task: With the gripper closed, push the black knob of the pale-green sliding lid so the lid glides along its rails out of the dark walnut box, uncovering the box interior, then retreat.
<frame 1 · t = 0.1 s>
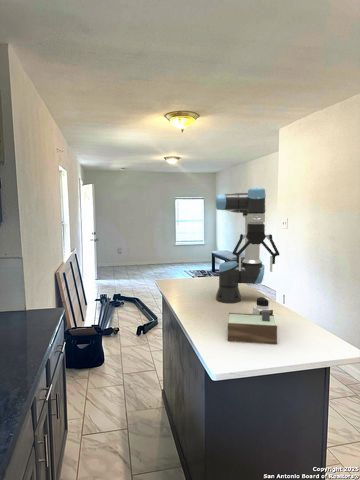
hand: (255, 270, 144), 28 cm above the countertop, fingers open, 13 cm apart
lid: (251, 315, 140), point 9 cm above the countertop, slide at 0.0 cm
medicine bottle: (262, 322, 159), on the countertop
box: (251, 336, 141), on the countertop
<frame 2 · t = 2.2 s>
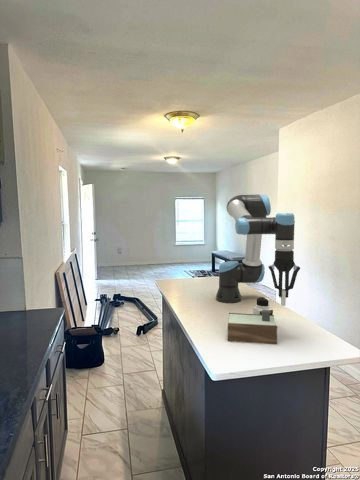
hand: (283, 304, 137), 15 cm above the countertop, fingers closed
nothing on the countertop moved.
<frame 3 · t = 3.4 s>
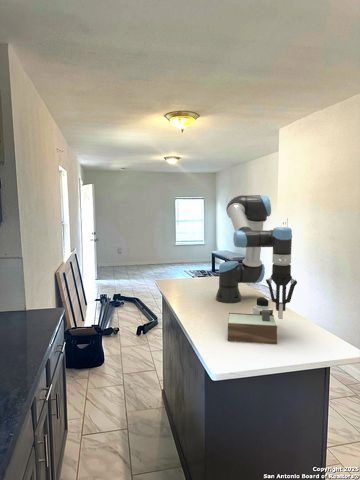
hand: (280, 317, 138), 9 cm above the countertop, fingers closed
nothing on the countertop moved.
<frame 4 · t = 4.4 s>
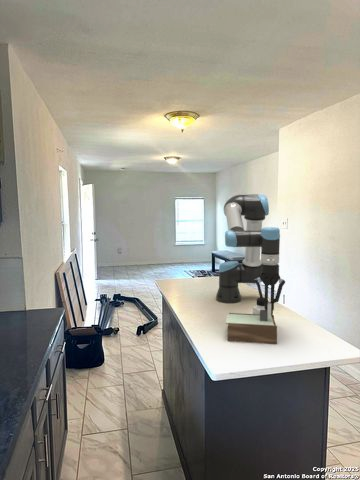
hand: (268, 317, 139), 9 cm above the countertop, fingers closed
lid: (249, 315, 140), point 9 cm above the countertop, slide at 0.9 cm, touching gripper
everything else where it was.
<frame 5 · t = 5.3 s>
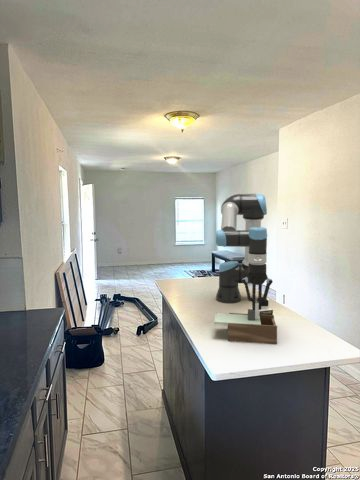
hand: (256, 316, 140), 9 cm above the countertop, fingers closed
lid: (237, 315, 141), point 9 cm above the countertop, slide at 6.1 cm, touching gripper
everything else where it was.
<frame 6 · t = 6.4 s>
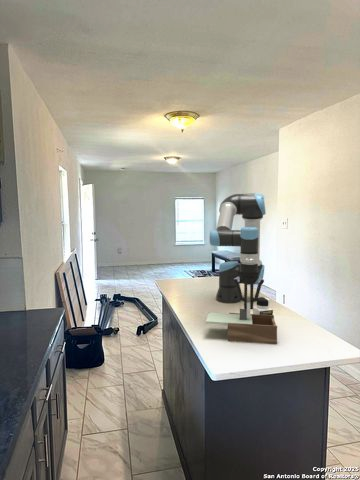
hand: (248, 316, 141), 9 cm above the countertop, fingers closed
lid: (229, 314, 142), point 9 cm above the countertop, slide at 9.6 cm, touching gripper
everything else where it was.
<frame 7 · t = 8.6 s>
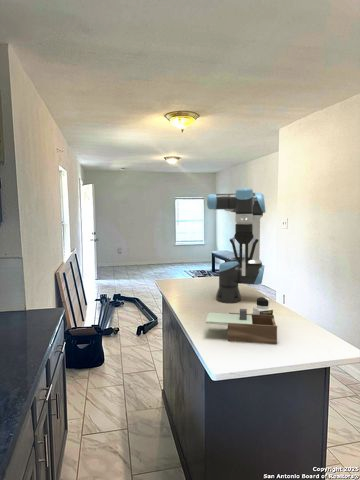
hand: (243, 275, 146), 26 cm above the countertop, fingers closed
lid: (229, 314, 142), point 9 cm above the countertop, slide at 9.7 cm
everything else where it was.
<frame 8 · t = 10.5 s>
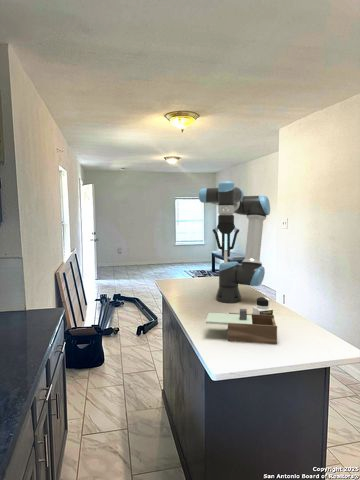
hand: (225, 263, 155), 29 cm above the countertop, fingers closed
nothing on the countertop moved.
at the end: lid slide at 9.7 cm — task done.
